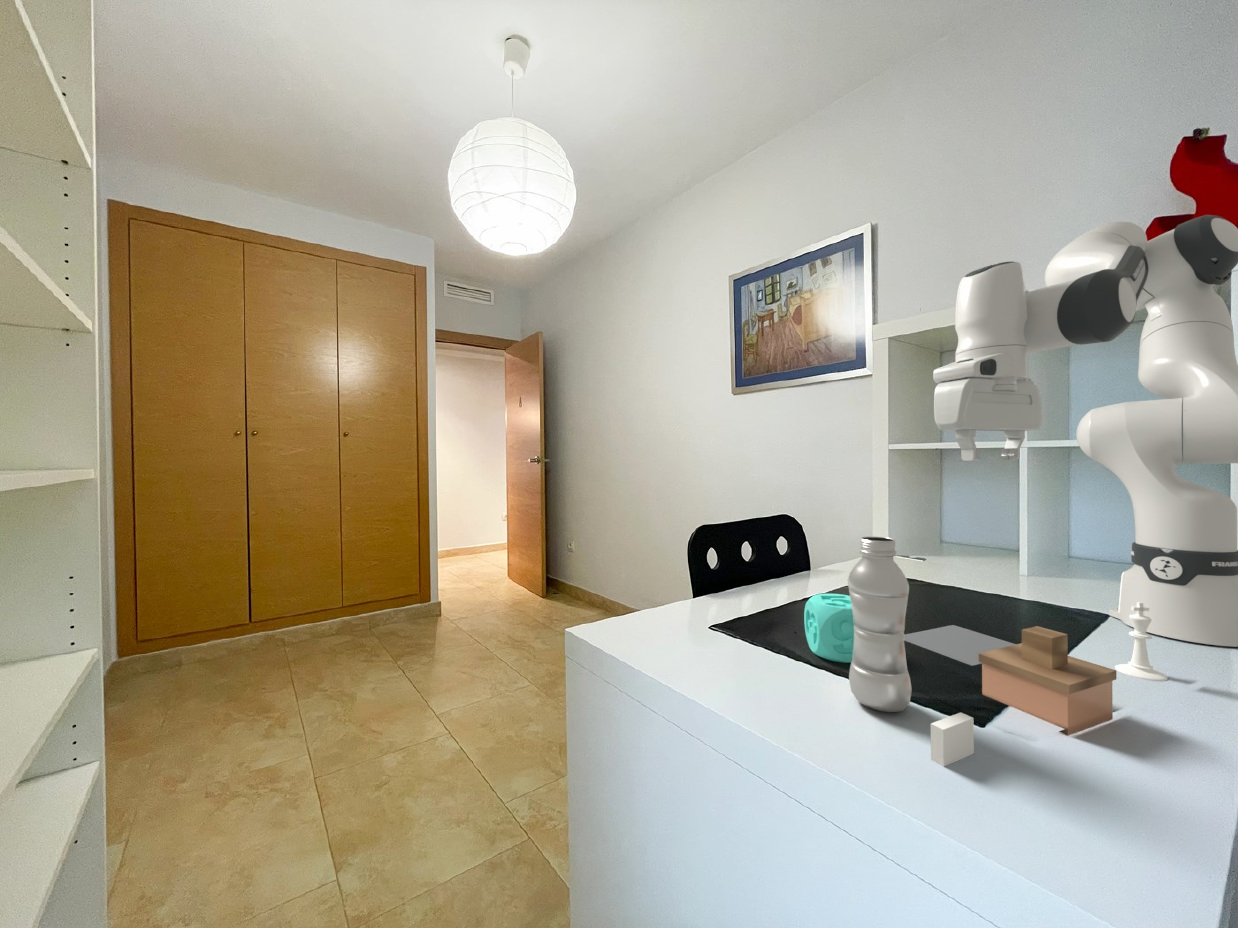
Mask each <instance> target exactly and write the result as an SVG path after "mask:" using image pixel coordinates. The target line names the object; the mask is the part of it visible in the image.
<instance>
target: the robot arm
mask: <svg viewBox="0 0 1238 928" xmlns="http://www.w3.org/2000/svg"><path fill="white" fill-rule="evenodd" d="M1237 265H1238V227H1237V226H1235V224H1233V223H1232V222H1230V221H1229V220H1227V219H1226V218H1225V217H1222V216H1219V215H1213V214H1212V215H1211V214H1204V215H1202V216H1198V217H1195V218H1192V219H1189V220H1187V221H1185V222H1182V223H1179V224H1177V226H1176V227H1175V228H1173V229H1171V230H1169V231H1166V232H1164V233H1162V234H1159V235H1158V236H1156V237H1154V238H1152V239H1150V240H1148V237H1147V233H1146V232H1145V230H1144V229H1143V228H1142V227H1141V226H1139V225H1138V224H1136V223H1133V222H1129V221H1114V222H1109V223H1106V224H1102V225H1099V226H1097V227H1094V228H1092V229H1091V230H1090V229H1089V230H1087V231H1086V232H1084V233H1083V234H1081V235H1079V236H1078V237H1076V238H1075V239H1073V240H1071V241H1070V242H1068V244H1066V245H1065V246H1064V247H1062V248H1061V249H1060V250H1059V251H1058V252H1057V253H1056V254H1055V255H1053V257H1052V258H1051V260H1050V261H1049V263H1048V264H1047V266H1046V269H1045V271H1044V284H1045V287H1042V288H1037V289H1034V290H1030V291H1029V290H1028V289H1026V283H1025V282H1026V281H1025V276H1024V271H1023V268H1022V264H1021V262H1018V261H1003V262H998V263H996V264H990V265H987V266H984V267H981V268H977V269H975V270H973V271H970V272H968V273H967V274H966V275H964V276H963V277H962V278H961V279H960V281H959V284H958V288H957V293H956V299H955V308H954V309H955V314H954V315H955V317H954V329H955V332H956V334H957V340H958V341H957V347H956V349H955V353H954V355H955V361H954V362H950V363H949V364H948V363H947V364H946V365H943V366H941V367H937V368H935V369H933V374H932V375H933V381H934V382H935V384H936V383H937V385H936V386H935V388H934V393H933V395H934V398H933V414H934V415H933V417H934V422H935V425H936V426H937V427H938V429H939V430H940V431H954V433H955V434H954V435H955V436H954V438H955V439H956V442H957V444H958V446H959V447H960V449H961V450H960V452H961V454H960V455H961V460H962V461H966V462H967V461H968V462H969V461H979V460H980V459H981V456H980V454H981V448H977V446H976V443H975V439H974V438H976V436H977V435H976V434H977V431H978V432H979V431H980V432H981V431H983V432H985V431H987V432H1004V438H1005V439H1006V441H1005V445H1004V448H1001V450H1000V451H1001V452H1000V453H1001V455H1000V457H1001V458H1000V459H1002V460H1003V461H1007V460H1008V461H1016V460H1019V459H1020V452H1021V451H1020V449H1021V447H1022V445H1023V442H1024V440H1025V438H1026V432H1031V431H1039V430H1040V429H1041V428H1042V425H1043V421H1044V420H1043V419H1044V417H1043V407H1042V398H1041V393H1040V389H1039V386H1037V385H1036V384H1035V382H1034V380H1032V379H1031V378H1030V375H1029V372H1028V369H1029V367H1028V365H1029V364H1028V354H1031V353H1038V352H1043V351H1050V350H1055V349H1061V348H1066V347H1067V348H1068V347H1073V346H1079V345H1080V346H1081V345H1090V344H1099V343H1100V344H1101V343H1105V342H1106V343H1107V342H1112V341H1114V340H1115V339H1116V338H1118V337H1119V336H1120V335H1122V334H1123V333H1124V332H1125V331H1126V330H1127V329H1128V328H1129V327H1130V326H1131V325H1132V323H1133V322H1134V320H1135V317H1136V312H1137V311H1140V310H1143V309H1146V311H1147V316H1146V318H1145V321H1144V324H1143V327H1142V329H1141V330H1142V331H1141V335H1140V340H1139V351H1138V353H1139V354H1138V366H1137V369H1138V371H1137V378H1138V381H1139V383H1140V384H1141V385H1142V386H1143V387H1144V388H1145V389H1146V390H1148V391H1149V392H1150V393H1152V394H1153V395H1156V396H1158V397H1161V398H1162V399H1148V400H1136V401H1134V400H1133V401H1124V402H1120V403H1114V404H1108V405H1104V406H1100V407H1095V408H1091V410H1089V411H1087V412H1086V413H1085V414H1084V416H1083V417H1081V419H1080V421H1079V422H1078V425H1077V427H1076V432H1075V433H1076V435H1075V437H1076V442H1077V444H1078V446H1079V449H1081V451H1082V453H1084V454H1085V455H1086V456H1087V457H1088V458H1090V459H1092V460H1093V461H1095V462H1097V463H1099V464H1101V465H1102V466H1104V467H1105V468H1107V469H1108V470H1109V471H1111V472H1112V473H1113V474H1114V475H1115V476H1116V477H1117V478H1118V479H1119V480H1120V481H1121V483H1122V484H1123V485H1124V486H1125V488H1126V490H1127V492H1128V494H1129V497H1130V499H1131V503H1132V509H1133V518H1134V535H1135V536H1134V538H1135V541H1134V542H1132V543H1131V549H1130V555H1131V557H1130V558H1131V562H1132V564H1133V565H1132V566H1131V567H1130V568H1129V569H1126V570H1125V571H1122V573H1121V576H1120V578H1121V579H1120V586H1119V587H1120V588H1119V599H1118V607H1117V608H1110V609H1109V611H1108V615H1109V616H1110V617H1113V618H1116V619H1118V620H1120V621H1121V622H1122V623H1123V624H1125V625H1127V626H1129V627H1130V628H1131V627H1132V628H1134V627H1133V625H1132V622H1131V620H1130V618H1129V616H1130V615H1133V614H1137V611H1134V610H1131V606H1134V607H1137V602H1142V603H1143V607H1148V608H1149V611H1143V615H1145V616H1147V617H1149V618H1151V623H1150V624H1149V626H1148V629H1147V630H1146V633H1148V634H1149V633H1150V634H1153V635H1157V636H1162V637H1165V638H1166V637H1167V638H1171V639H1175V640H1180V641H1185V642H1189V643H1190V642H1191V643H1195V644H1196V643H1197V644H1204V645H1211V646H1212V645H1213V646H1220V647H1234V648H1236V647H1237V648H1238V507H1237V505H1236V503H1235V502H1234V501H1233V500H1232V499H1231V498H1230V497H1229V496H1227V495H1226V494H1225V493H1223V492H1220V491H1218V490H1215V489H1213V488H1209V486H1208V487H1207V486H1205V485H1202V484H1199V483H1195V482H1192V481H1189V480H1187V479H1184V478H1182V477H1181V476H1180V475H1179V474H1178V473H1177V472H1176V467H1177V466H1178V465H1183V464H1238V361H1237V357H1236V356H1237V355H1236V348H1235V337H1234V326H1233V320H1232V318H1231V314H1230V312H1229V308H1228V306H1227V305H1226V303H1225V301H1224V299H1223V298H1222V297H1221V295H1219V294H1218V293H1217V292H1216V291H1215V289H1214V285H1215V286H1220V285H1224V284H1225V283H1227V282H1228V281H1229V280H1230V279H1231V277H1232V271H1233V270H1234V268H1236V266H1237Z"/></svg>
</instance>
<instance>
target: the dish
mask: <svg viewBox="0 0 1238 928" xmlns="http://www.w3.org/2000/svg"><path fill="white" fill-rule="evenodd" d="M981 678H982V679H981V687H982V688H981V692H982V693H981V694H982V695H983V696H985V697H987V698H990V699H992V700H995V701H998V702H999V703H1002V704H1004V705H1007V706H1009V707H1011V708H1013V709H1016V710H1018V711H1021V712H1023V713H1025V714H1028V715H1030V716H1033V717H1035V718H1038V719H1040V720H1042V721H1044V722H1047V723H1048V724H1049V723H1050V724H1052V725H1054V726H1057V727H1059V728H1061V730H1059V731H1058V732H1059V733H1060V734H1063V735H1064V736H1065V735H1066V736H1070V735H1073V734H1076V733H1078V732H1081V731H1083V730H1086V729H1089V728H1092V727H1095V726H1097V725H1100V724H1102V723H1105V722H1108V721H1111V720H1112V719H1113V712H1114V711H1113V681H1110V682H1107V683H1104V684H1100V685H1097V686H1094V687H1091V688H1088V689H1085V690H1082V691H1079V692H1075V693H1072V694H1066V693H1064V692H1061V691H1058V690H1055V689H1053V688H1050V687H1047V686H1044V685H1042V684H1039V683H1036V682H1033V681H1031V680H1028V679H1025V678H1022V677H1020V676H1017V675H1014V674H1011V673H1009V672H1006V671H1003V670H1000V669H998V668H995V667H992V666H989V665H986V664H984V663H982V664H981Z"/></svg>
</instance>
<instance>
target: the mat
mask: <svg viewBox="0 0 1238 928" xmlns="http://www.w3.org/2000/svg"><path fill="white" fill-rule="evenodd" d="M904 634H905V633H904ZM904 642H907V643H910V644H912V645H914V646H918V647H920V648H923V649H926V650H929V651H931V652H934V653H937V654H939V655H942V656H944V657H947V658H950V659H953V660H955V661H958V662H961V663H963V664H966V665H969V666H971V667H973V666H977V665H982V663H981V662H979V653H983V652H987V651H991V650H995V649H1000V648H1004V647H1008V646H1012V645H1016V643H1013V642H1010V641H1006V640H1003V639H1000V638H996V637H993V636H990V635H987V634H984V633H982V632H978V631H975V630H972V629H968V628H964V627H962V626H957V625H955V624H952V625H946V626H941V627H937V628H930V629H926V630H922V631H917V632H915V631H914V632H912V633H911V632H910V633H906V634H905V635H904Z"/></svg>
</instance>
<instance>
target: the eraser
mask: <svg viewBox="0 0 1238 928" xmlns="http://www.w3.org/2000/svg"><path fill="white" fill-rule="evenodd" d="M974 720H975V719H974V717H972V716H970V715H968V714H966V713H963V712H962V711H961V712H958V713H956V714H952V715H950V716H947V717H944V718H941V719H938V720H936V721H933V722H931V723H930V760H931V761H932V762H935V763H936V764H938V765H940V766H941V767H946V766H949V765H950V764H951V765H952V764H953V763H955V762H957V761H960V760H962V759H964V758H967V757H969V756H971V755H974V754H975V748H974V747H975V744H974V742H975V735H974V730H975V729H974V726H975V725H974Z"/></svg>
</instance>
